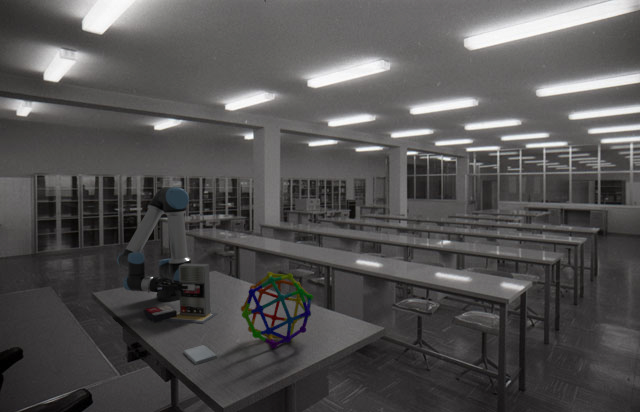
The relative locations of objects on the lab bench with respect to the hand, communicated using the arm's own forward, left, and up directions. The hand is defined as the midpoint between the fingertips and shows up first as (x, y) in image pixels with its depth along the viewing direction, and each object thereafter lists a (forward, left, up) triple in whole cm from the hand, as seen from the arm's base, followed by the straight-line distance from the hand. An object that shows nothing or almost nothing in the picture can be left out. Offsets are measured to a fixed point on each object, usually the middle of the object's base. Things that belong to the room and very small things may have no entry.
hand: (195, 287), depth 181 cm
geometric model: (+21, +49, -15) cm, 56 cm away
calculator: (+2, -18, -16) cm, 24 cm away
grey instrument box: (-3, -2, -15) cm, 15 cm away
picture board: (0, -3, -15) cm, 15 cm away
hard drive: (+38, +24, -16) cm, 47 cm away
